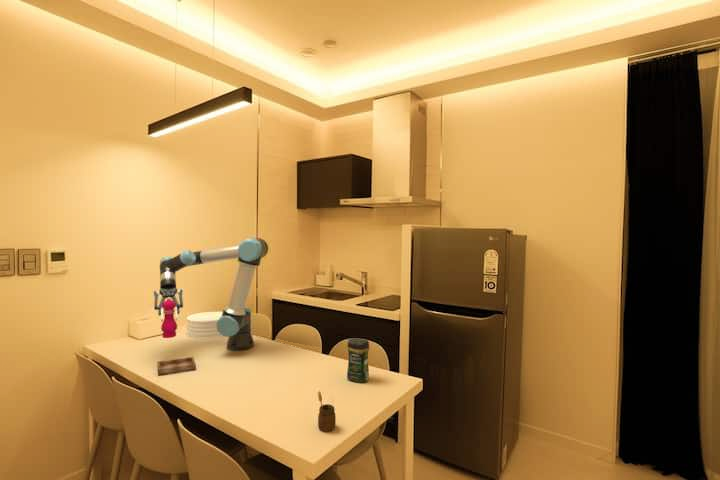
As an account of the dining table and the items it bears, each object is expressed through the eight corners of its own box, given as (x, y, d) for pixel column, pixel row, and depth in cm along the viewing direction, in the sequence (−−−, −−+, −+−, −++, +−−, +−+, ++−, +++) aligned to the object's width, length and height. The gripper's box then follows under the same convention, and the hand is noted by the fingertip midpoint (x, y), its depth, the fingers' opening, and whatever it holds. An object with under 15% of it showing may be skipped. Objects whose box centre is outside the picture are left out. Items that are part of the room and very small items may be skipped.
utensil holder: (330, 433, 128) (330, 398, 128) (314, 429, 131) (314, 394, 131) (338, 425, 134) (338, 391, 133) (322, 421, 136) (323, 388, 136)
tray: (193, 362, 196) (192, 356, 196) (195, 370, 186) (195, 363, 186) (157, 367, 189) (157, 361, 189) (158, 376, 178) (158, 369, 178)
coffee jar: (344, 380, 174) (344, 339, 173) (353, 374, 181) (353, 335, 180) (363, 384, 169) (363, 342, 168) (371, 378, 176) (371, 338, 175)
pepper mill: (170, 338, 191) (170, 298, 190) (158, 337, 192) (157, 298, 192) (180, 334, 198) (179, 296, 197) (168, 333, 200) (167, 295, 199)
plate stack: (177, 338, 241) (177, 320, 240) (202, 327, 268) (202, 310, 268) (218, 340, 236) (218, 322, 236) (240, 329, 264) (240, 312, 263)
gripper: (187, 285, 212) (189, 321, 198) (148, 288, 204) (148, 325, 190) (187, 277, 207) (190, 313, 193) (147, 279, 199) (147, 317, 185)
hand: (169, 319), depth 192 cm, fingers closed on pepper mill, 6 cm apart
